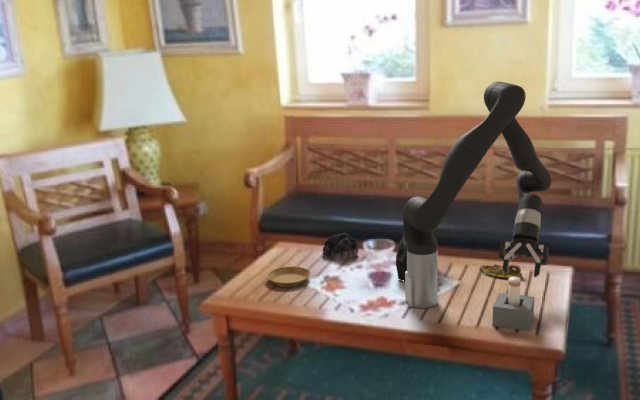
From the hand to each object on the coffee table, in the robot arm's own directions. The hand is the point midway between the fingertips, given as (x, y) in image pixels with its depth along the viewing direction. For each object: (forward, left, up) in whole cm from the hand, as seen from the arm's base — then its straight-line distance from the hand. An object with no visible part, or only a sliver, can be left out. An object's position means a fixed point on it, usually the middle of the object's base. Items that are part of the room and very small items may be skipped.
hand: (520, 274), depth 198 cm
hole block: (-7, -10, -10) cm, 15 cm away
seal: (+5, +24, -10) cm, 27 cm away
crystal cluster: (-44, +58, -10) cm, 73 cm away
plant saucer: (-65, +38, -10) cm, 77 cm away
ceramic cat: (-21, +32, -10) cm, 40 cm away
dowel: (-7, -10, -9) cm, 14 cm away
